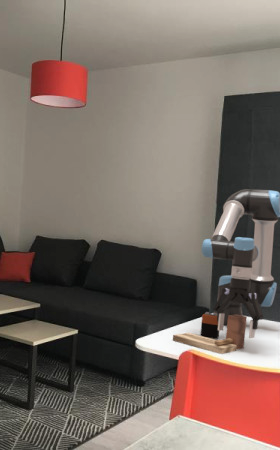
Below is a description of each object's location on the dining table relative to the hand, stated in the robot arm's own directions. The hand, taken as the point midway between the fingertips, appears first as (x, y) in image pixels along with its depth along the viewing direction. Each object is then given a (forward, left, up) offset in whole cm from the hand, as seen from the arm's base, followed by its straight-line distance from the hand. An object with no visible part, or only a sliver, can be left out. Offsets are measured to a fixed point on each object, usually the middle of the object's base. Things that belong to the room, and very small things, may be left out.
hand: (235, 334), depth 193 cm
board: (+9, -8, -5) cm, 13 cm away
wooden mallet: (+5, 0, -5) cm, 7 cm away
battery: (-7, -16, -5) cm, 18 cm away
